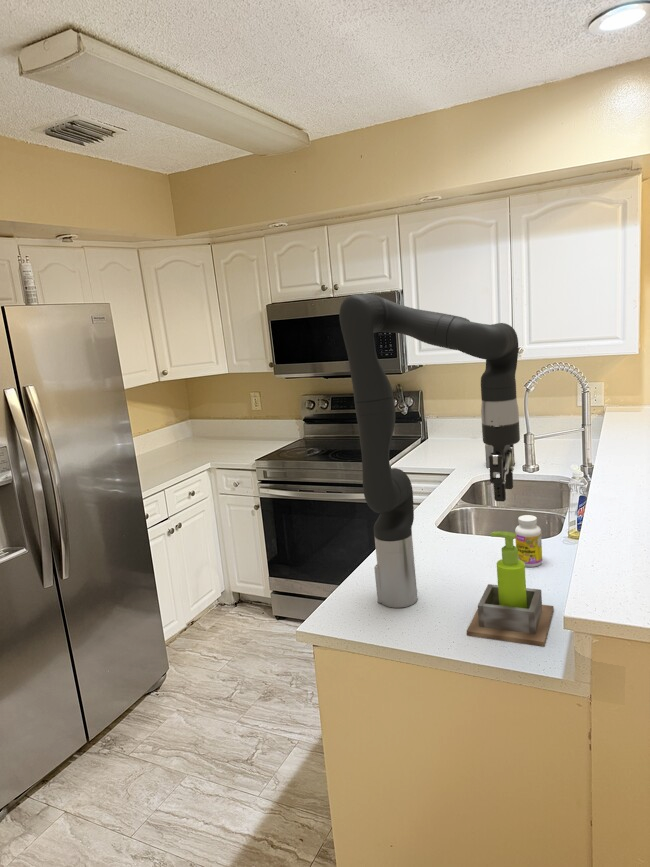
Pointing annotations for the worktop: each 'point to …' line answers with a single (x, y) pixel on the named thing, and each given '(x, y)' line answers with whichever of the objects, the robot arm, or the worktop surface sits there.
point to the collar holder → (512, 619)
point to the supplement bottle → (529, 541)
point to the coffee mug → (488, 453)
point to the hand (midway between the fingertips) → (504, 494)
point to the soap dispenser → (511, 574)
